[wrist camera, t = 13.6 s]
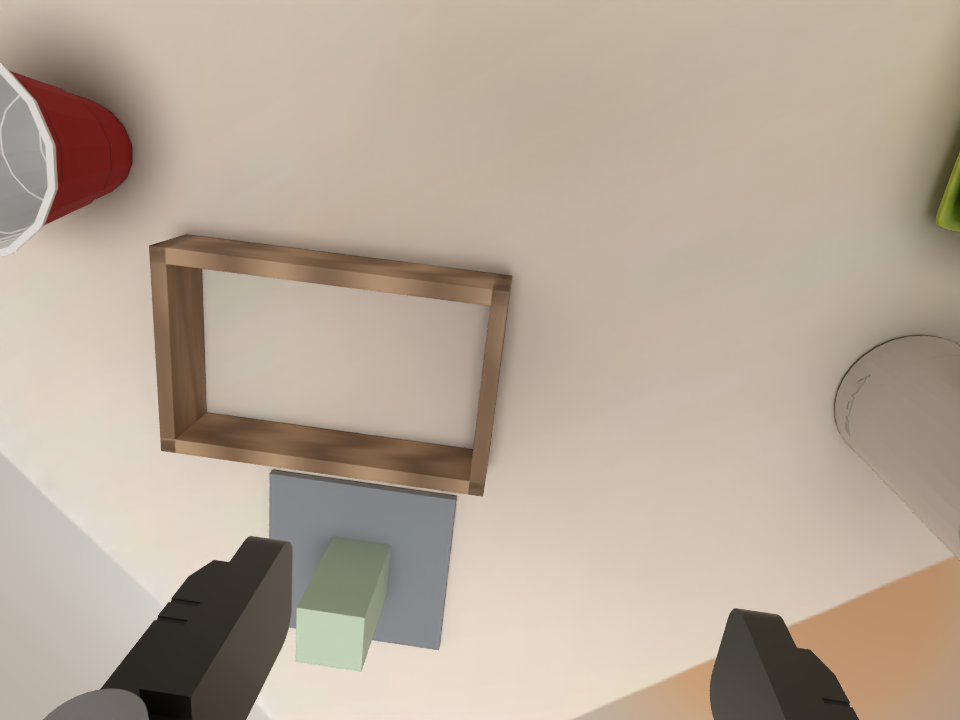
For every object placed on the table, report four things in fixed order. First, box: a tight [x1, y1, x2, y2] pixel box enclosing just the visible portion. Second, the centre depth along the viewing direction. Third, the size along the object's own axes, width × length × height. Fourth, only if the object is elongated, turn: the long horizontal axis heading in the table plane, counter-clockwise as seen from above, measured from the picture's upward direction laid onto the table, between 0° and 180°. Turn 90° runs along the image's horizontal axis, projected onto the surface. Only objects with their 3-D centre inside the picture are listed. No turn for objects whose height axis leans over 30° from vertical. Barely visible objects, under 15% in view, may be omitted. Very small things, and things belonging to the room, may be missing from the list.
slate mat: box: [269, 470, 457, 650], centre depth 52 cm, size 14×14×1 cm
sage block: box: [296, 537, 391, 672], centre depth 48 cm, size 4×4×8 cm
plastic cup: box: [0, 62, 132, 257], centre depth 37 cm, size 11×11×12 cm
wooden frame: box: [149, 234, 512, 496], centre depth 44 cm, size 22×14×4 cm, turn 84°
